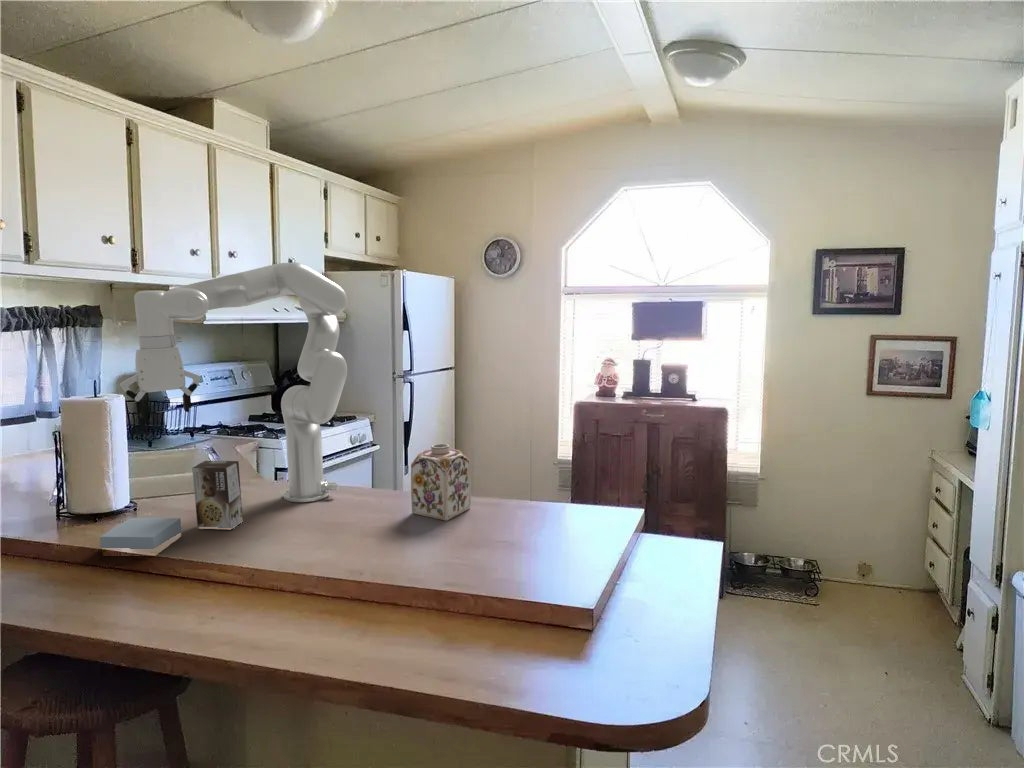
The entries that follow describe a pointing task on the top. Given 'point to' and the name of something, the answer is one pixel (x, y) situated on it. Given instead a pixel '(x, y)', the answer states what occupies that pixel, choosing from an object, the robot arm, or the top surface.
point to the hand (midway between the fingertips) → (164, 413)
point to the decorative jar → (440, 483)
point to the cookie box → (217, 494)
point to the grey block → (141, 533)
